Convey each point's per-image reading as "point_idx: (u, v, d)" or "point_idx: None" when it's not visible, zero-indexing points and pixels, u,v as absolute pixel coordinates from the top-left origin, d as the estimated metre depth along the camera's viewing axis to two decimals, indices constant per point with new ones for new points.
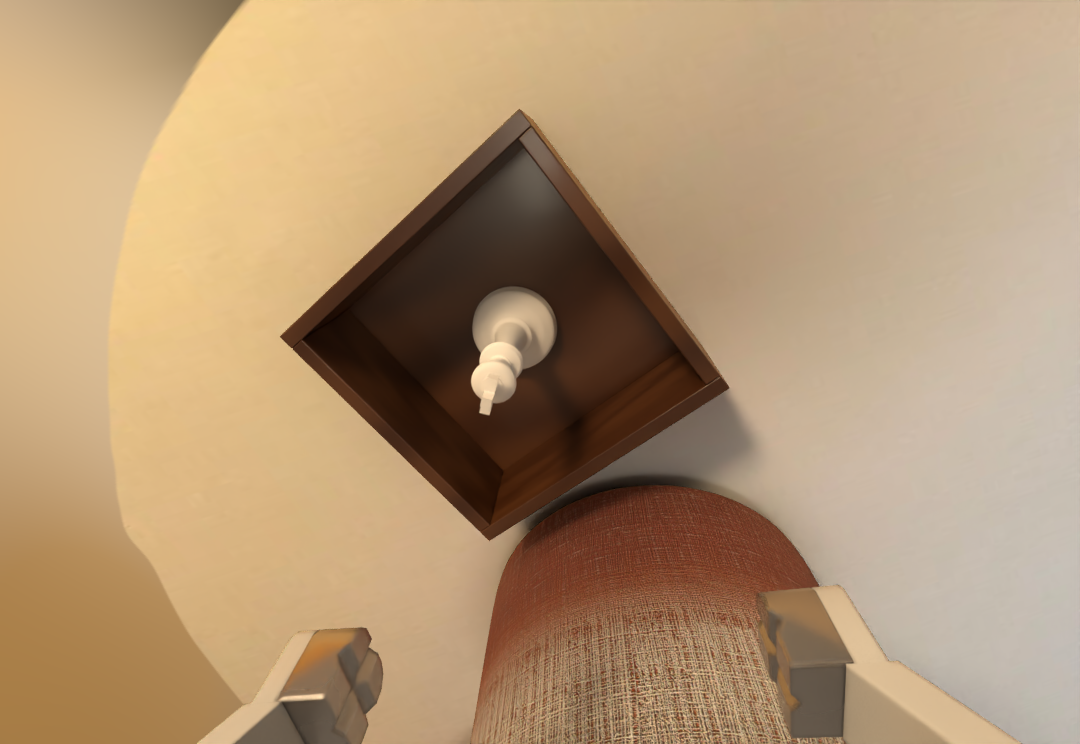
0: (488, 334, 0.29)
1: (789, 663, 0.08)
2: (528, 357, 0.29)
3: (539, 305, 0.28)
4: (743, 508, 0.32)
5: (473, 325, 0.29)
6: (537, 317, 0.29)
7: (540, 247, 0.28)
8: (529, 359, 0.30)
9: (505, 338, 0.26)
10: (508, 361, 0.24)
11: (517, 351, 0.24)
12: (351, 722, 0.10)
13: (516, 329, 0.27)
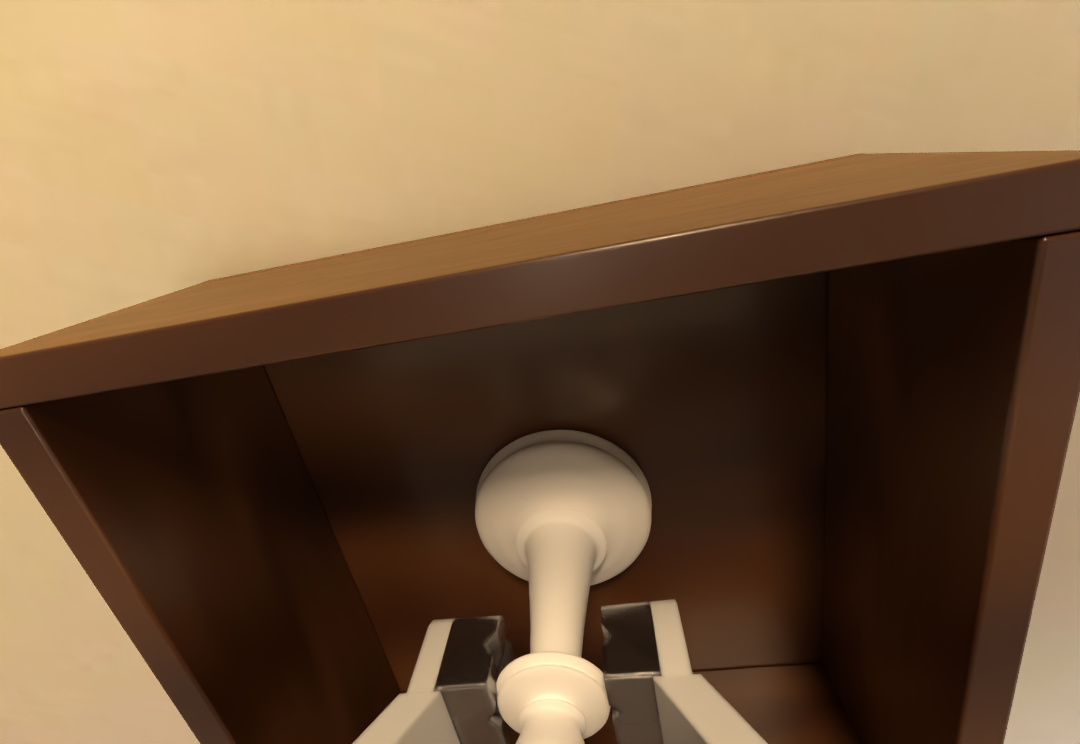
0: (513, 511, 0.13)
1: (604, 675, 0.09)
2: None
3: (642, 507, 0.13)
4: None
5: (492, 476, 0.13)
6: (626, 527, 0.13)
7: (704, 402, 0.13)
8: None
9: (570, 593, 0.11)
10: (582, 725, 0.09)
11: None
12: None
13: (587, 556, 0.12)
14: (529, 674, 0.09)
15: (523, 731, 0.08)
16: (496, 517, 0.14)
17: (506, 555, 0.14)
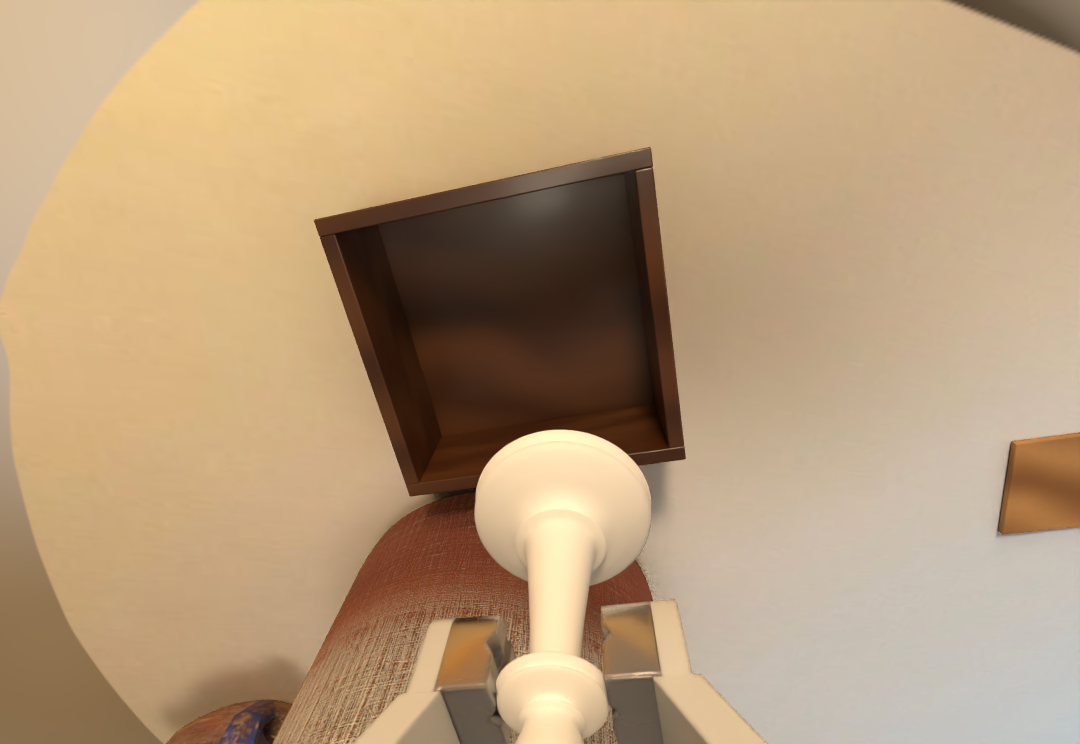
0: (513, 511, 0.13)
1: (604, 675, 0.09)
2: None
3: (641, 507, 0.13)
4: None
5: (491, 476, 0.13)
6: (626, 527, 0.13)
7: (583, 261, 0.29)
8: None
9: (569, 594, 0.11)
10: (581, 725, 0.09)
11: None
12: None
13: (587, 555, 0.12)
14: (528, 674, 0.09)
15: (522, 731, 0.08)
16: (496, 517, 0.14)
17: (505, 556, 0.14)
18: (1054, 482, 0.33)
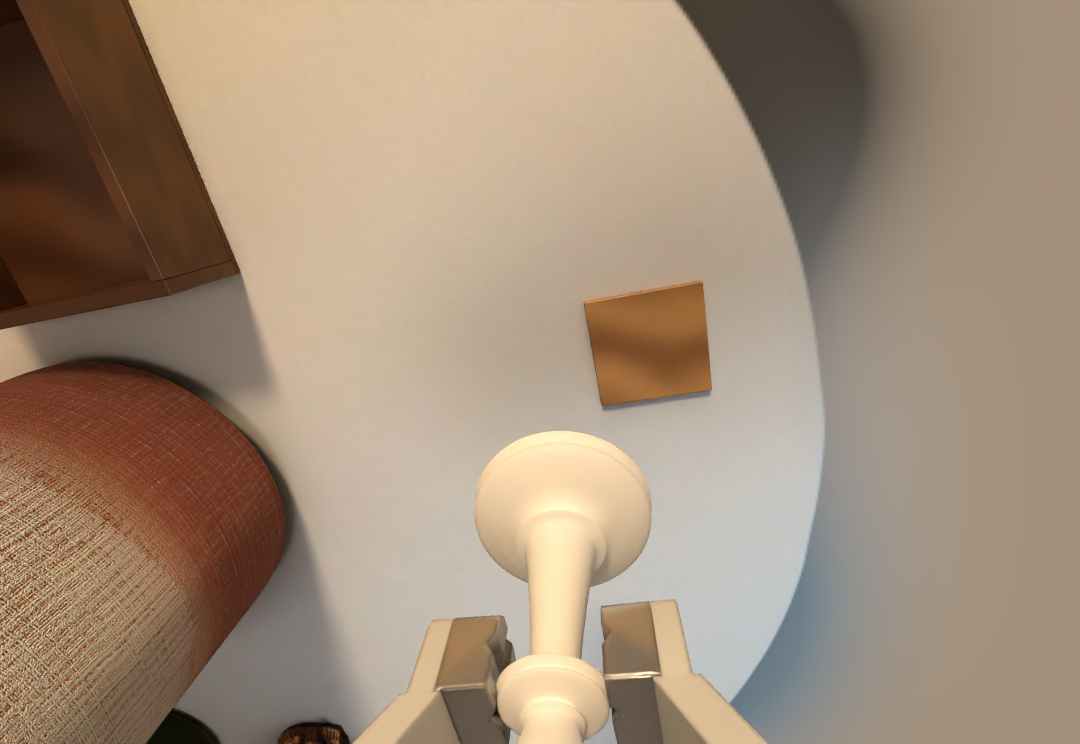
0: (513, 512, 0.13)
1: (604, 675, 0.09)
2: None
3: (642, 508, 0.13)
4: (230, 431, 0.34)
5: (491, 478, 0.13)
6: (626, 528, 0.13)
7: None
8: None
9: (569, 595, 0.11)
10: (581, 726, 0.09)
11: None
12: None
13: (587, 557, 0.12)
14: (529, 676, 0.09)
15: (523, 733, 0.08)
16: (496, 518, 0.14)
17: (505, 557, 0.14)
18: (634, 345, 0.32)
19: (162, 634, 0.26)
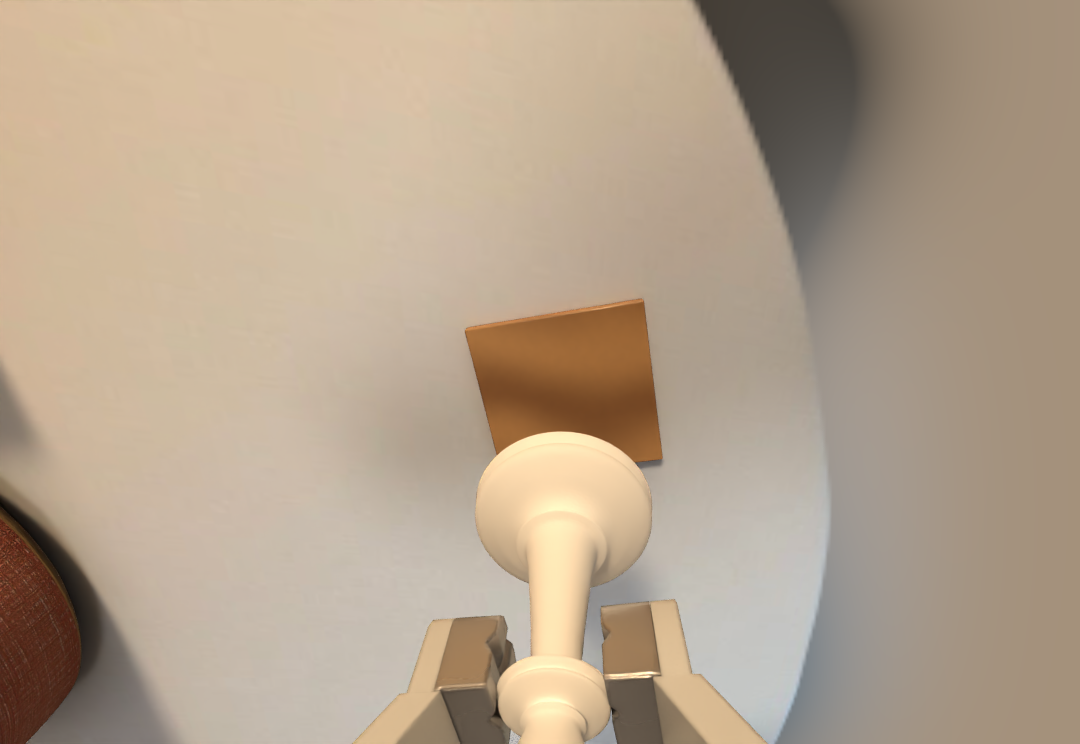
0: (514, 513, 0.13)
1: (604, 675, 0.09)
2: None
3: (642, 509, 0.13)
4: None
5: (492, 478, 0.13)
6: (627, 529, 0.13)
7: None
8: None
9: (570, 596, 0.11)
10: (582, 728, 0.09)
11: None
12: None
13: (588, 558, 0.12)
14: (530, 677, 0.09)
15: (524, 734, 0.08)
16: (496, 519, 0.14)
17: (506, 558, 0.14)
18: (544, 394, 0.21)
19: None
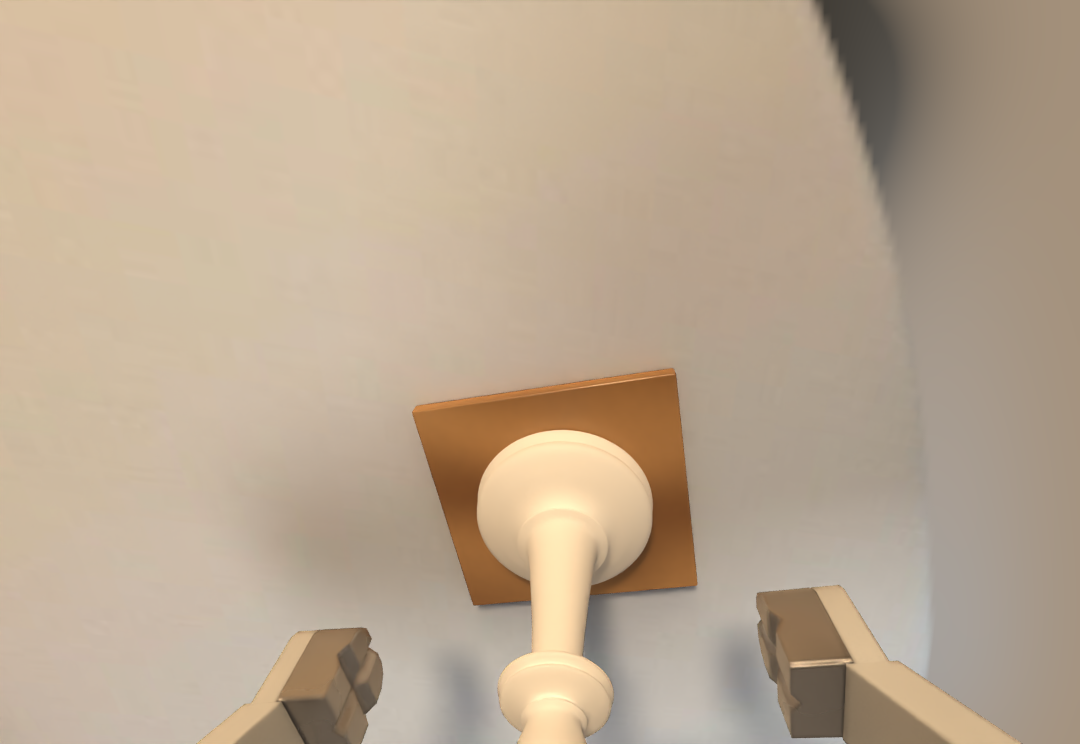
0: (515, 511, 0.13)
1: (789, 663, 0.08)
2: None
3: (643, 507, 0.13)
4: None
5: (494, 476, 0.13)
6: (627, 527, 0.13)
7: None
8: None
9: (571, 593, 0.11)
10: (583, 723, 0.09)
11: (611, 694, 0.09)
12: (351, 722, 0.10)
13: (589, 555, 0.12)
14: (531, 673, 0.09)
15: (525, 729, 0.09)
16: (498, 517, 0.14)
17: (507, 555, 0.14)
18: None
19: None
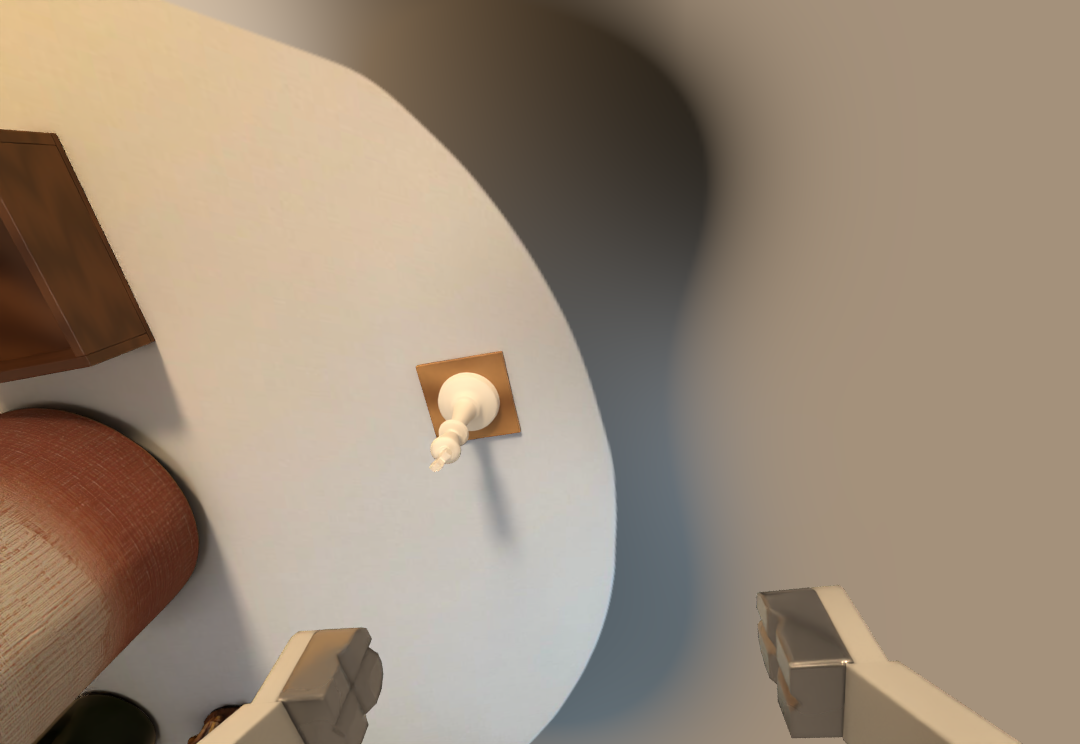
0: (450, 399, 0.40)
1: (789, 663, 0.08)
2: (468, 425, 0.41)
3: (493, 397, 0.40)
4: (149, 462, 0.44)
5: (443, 388, 0.40)
6: (488, 404, 0.40)
7: None
8: (468, 426, 0.41)
9: (462, 414, 0.37)
10: (459, 436, 0.35)
11: (467, 432, 0.36)
12: (351, 722, 0.10)
13: (471, 408, 0.39)
14: (446, 424, 0.35)
15: None
16: (444, 402, 0.40)
17: (448, 417, 0.41)
18: None
19: (78, 618, 0.35)
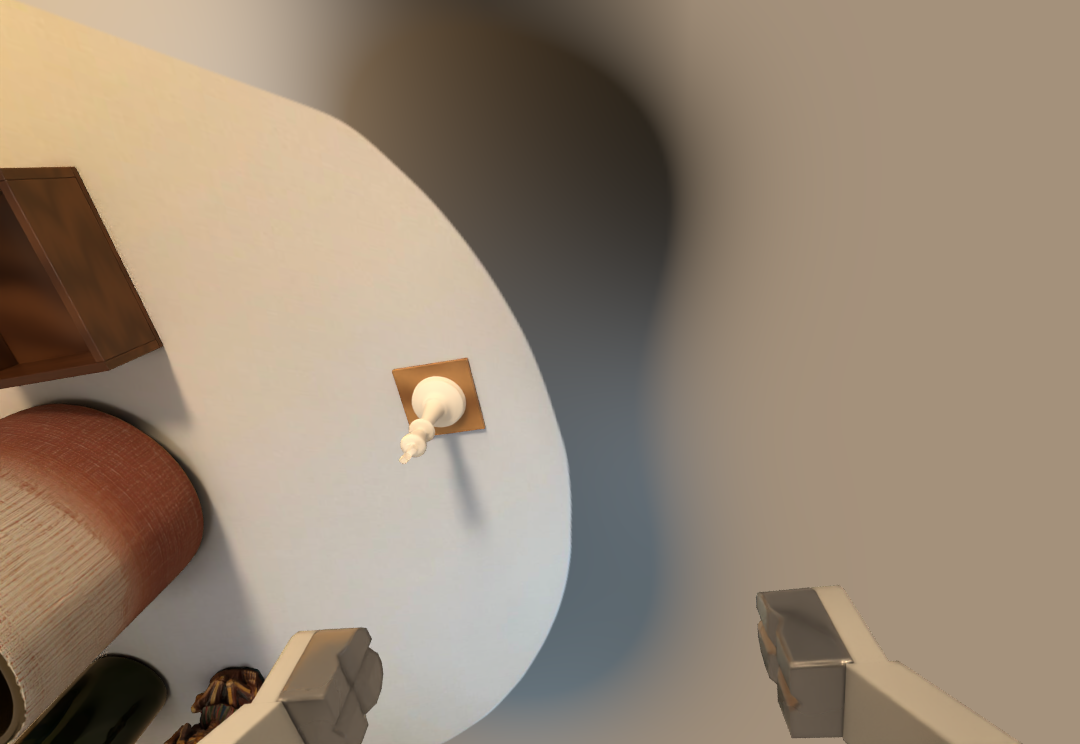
0: (422, 399, 0.46)
1: (789, 663, 0.08)
2: (438, 422, 0.47)
3: (459, 398, 0.46)
4: (159, 452, 0.49)
5: (415, 389, 0.46)
6: (455, 404, 0.46)
7: None
8: (438, 423, 0.47)
9: (430, 414, 0.43)
10: (426, 433, 0.41)
11: (433, 429, 0.42)
12: (351, 722, 0.10)
13: (439, 408, 0.44)
14: (415, 423, 0.41)
15: None
16: (417, 402, 0.46)
17: (421, 415, 0.46)
18: None
19: (102, 585, 0.42)
